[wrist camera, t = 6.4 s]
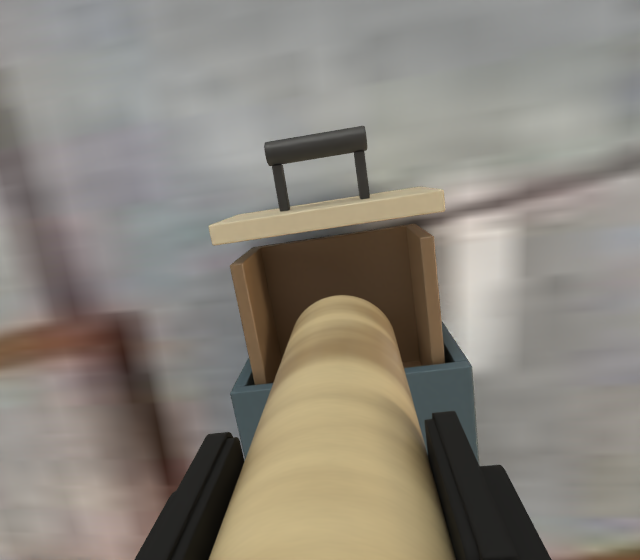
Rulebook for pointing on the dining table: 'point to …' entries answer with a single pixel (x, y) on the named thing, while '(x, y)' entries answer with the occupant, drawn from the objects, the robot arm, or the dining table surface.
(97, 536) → the dining table surface
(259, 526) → the cylinder
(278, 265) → the drawer
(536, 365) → the dining table surface
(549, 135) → the dining table surface
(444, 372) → the cabinet
